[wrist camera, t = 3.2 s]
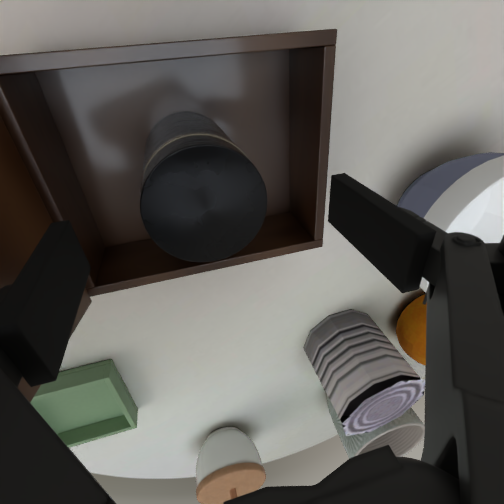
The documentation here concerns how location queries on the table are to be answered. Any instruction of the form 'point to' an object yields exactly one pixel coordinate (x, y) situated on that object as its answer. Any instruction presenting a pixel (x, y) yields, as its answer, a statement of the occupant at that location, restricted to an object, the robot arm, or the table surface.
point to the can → (361, 371)
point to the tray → (86, 403)
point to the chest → (148, 115)
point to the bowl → (461, 197)
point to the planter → (383, 434)
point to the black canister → (199, 190)
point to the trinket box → (227, 467)
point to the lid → (21, 225)
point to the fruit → (413, 330)
